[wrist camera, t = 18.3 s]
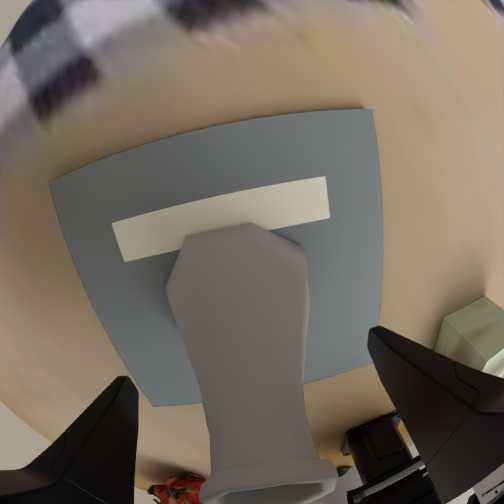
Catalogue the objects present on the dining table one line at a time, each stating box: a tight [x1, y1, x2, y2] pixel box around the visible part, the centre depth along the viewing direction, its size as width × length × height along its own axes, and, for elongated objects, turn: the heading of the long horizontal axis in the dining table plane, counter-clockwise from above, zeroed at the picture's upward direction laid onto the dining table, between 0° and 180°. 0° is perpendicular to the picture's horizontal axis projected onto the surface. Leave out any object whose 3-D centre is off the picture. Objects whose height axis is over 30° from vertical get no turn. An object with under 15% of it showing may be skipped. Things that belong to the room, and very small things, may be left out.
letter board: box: [49, 109, 383, 407], centre depth 14 cm, size 16×16×1 cm
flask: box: [165, 223, 338, 504], centre depth 9 cm, size 7×7×10 cm
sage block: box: [434, 296, 504, 378], centre depth 16 cm, size 6×6×6 cm
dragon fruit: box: [148, 473, 206, 504], centre depth 20 cm, size 8×8×12 cm
